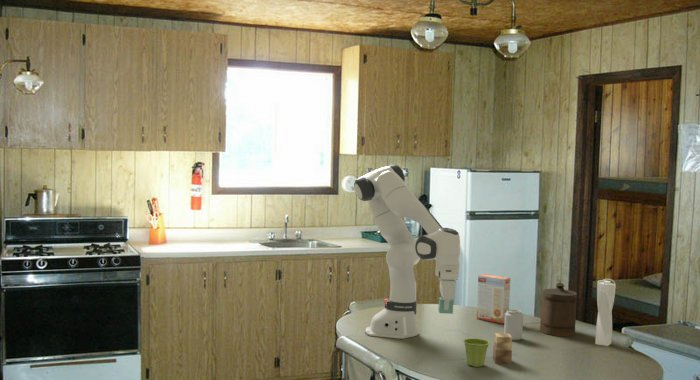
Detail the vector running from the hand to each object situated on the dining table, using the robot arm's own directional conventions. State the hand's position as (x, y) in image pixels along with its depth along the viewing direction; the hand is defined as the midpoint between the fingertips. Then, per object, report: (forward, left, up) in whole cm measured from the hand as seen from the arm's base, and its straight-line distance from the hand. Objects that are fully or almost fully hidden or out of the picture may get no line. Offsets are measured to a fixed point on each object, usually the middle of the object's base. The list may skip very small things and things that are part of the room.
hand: (445, 307), depth 277 cm
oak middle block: (+22, -2, -14) cm, 26 cm away
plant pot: (+11, -8, -19) cm, 24 cm away
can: (+32, +33, -19) cm, 50 cm away
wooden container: (+54, +48, -19) cm, 75 cm away
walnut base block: (+22, -2, -19) cm, 29 cm away
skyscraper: (+69, +31, -19) cm, 78 cm away
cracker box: (+28, +65, -19) cm, 73 cm away
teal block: (0, 0, -2) cm, 2 cm away
